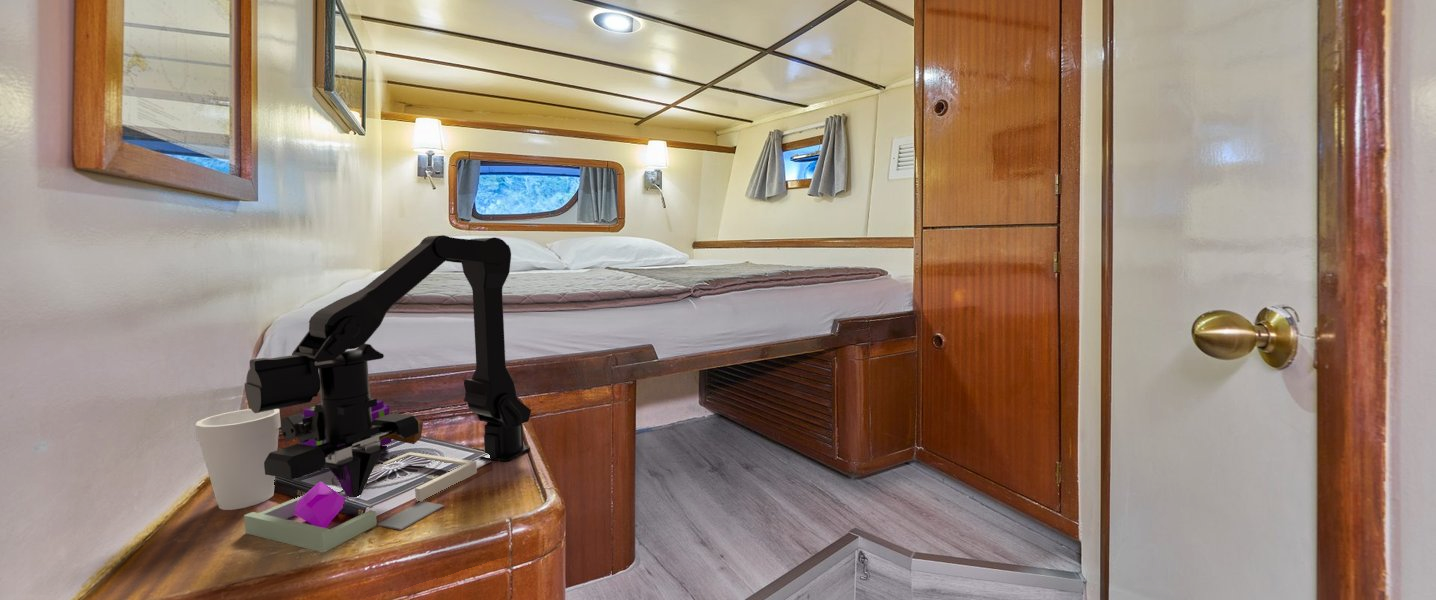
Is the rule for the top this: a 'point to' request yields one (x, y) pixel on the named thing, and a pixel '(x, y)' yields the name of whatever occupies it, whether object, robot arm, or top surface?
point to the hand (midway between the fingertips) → (354, 499)
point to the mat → (410, 515)
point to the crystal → (319, 505)
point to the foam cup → (239, 455)
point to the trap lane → (324, 539)
